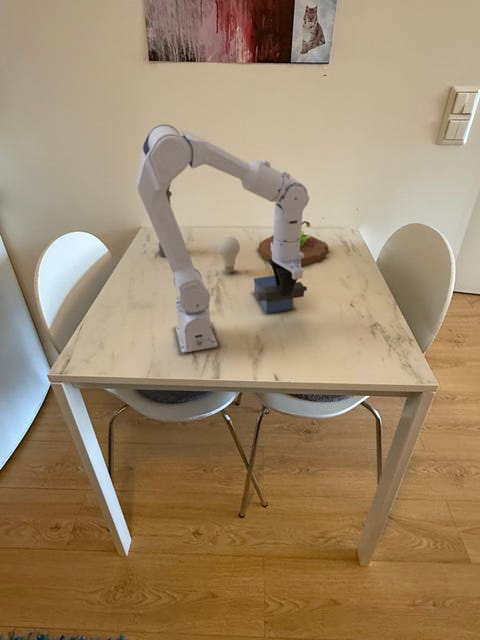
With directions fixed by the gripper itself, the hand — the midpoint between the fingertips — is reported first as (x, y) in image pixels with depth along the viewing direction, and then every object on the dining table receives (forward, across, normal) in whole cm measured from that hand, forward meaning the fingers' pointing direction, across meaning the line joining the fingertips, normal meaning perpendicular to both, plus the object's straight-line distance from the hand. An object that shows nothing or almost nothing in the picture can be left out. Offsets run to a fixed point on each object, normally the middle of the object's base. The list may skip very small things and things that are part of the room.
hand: (283, 291), depth 94 cm
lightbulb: (+8, +27, +6) cm, 29 cm away
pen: (+1, 0, 0) cm, 1 cm away
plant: (+8, +34, -16) cm, 38 cm away
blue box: (+8, +9, -1) cm, 12 cm away
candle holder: (+8, +45, +21) cm, 50 cm away
